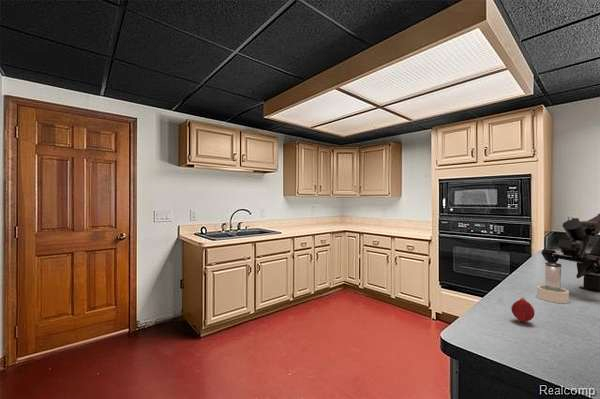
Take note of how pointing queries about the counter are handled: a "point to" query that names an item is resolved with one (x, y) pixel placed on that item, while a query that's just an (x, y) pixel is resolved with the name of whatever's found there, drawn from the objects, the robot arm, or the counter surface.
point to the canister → (553, 277)
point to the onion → (523, 310)
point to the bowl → (553, 295)
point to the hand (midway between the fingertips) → (562, 274)
